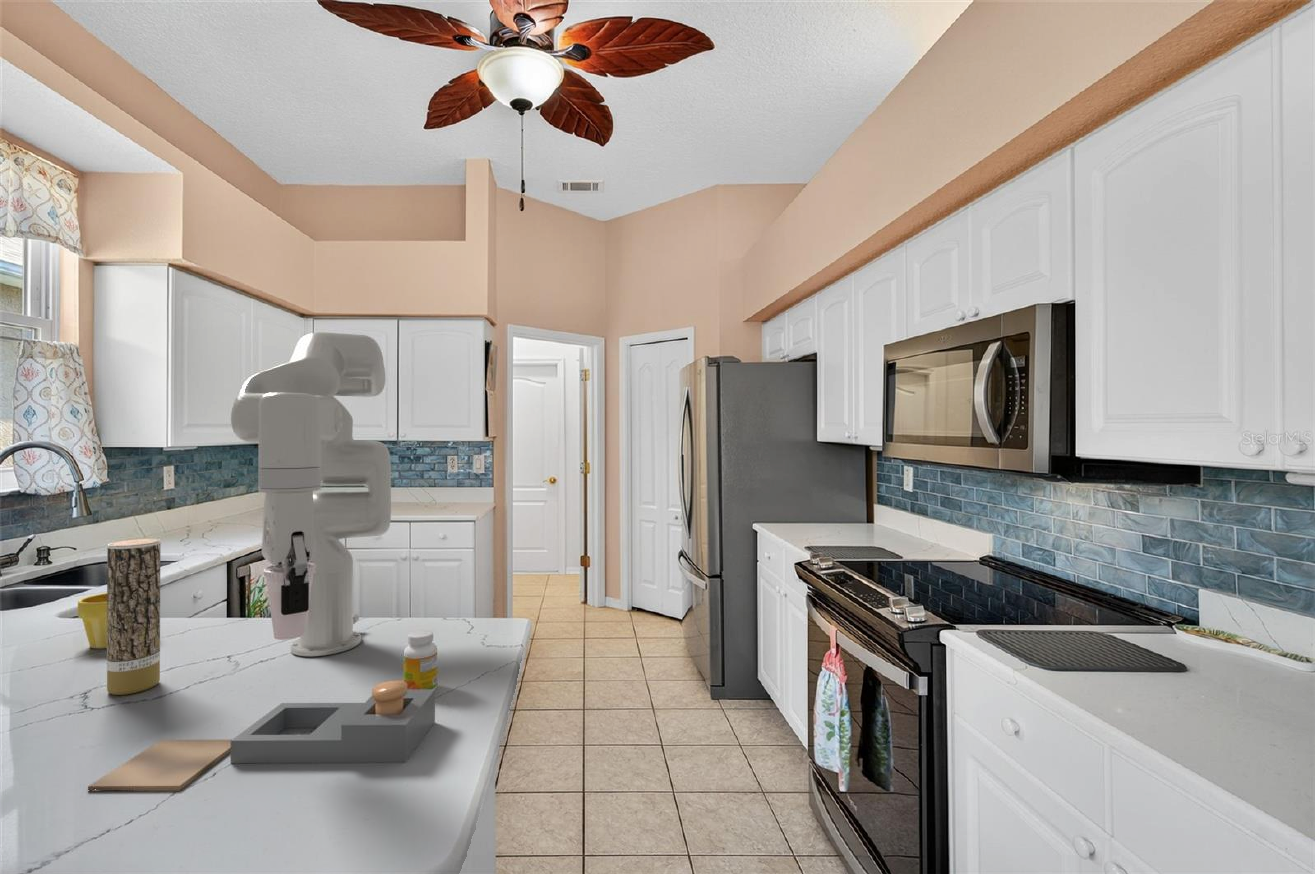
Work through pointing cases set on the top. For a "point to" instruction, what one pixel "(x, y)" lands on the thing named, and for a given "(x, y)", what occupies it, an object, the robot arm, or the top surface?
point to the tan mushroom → (389, 697)
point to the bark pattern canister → (133, 615)
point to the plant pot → (94, 619)
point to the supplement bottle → (420, 661)
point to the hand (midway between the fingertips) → (289, 605)
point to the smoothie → (281, 623)
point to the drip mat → (165, 766)
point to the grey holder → (337, 732)
